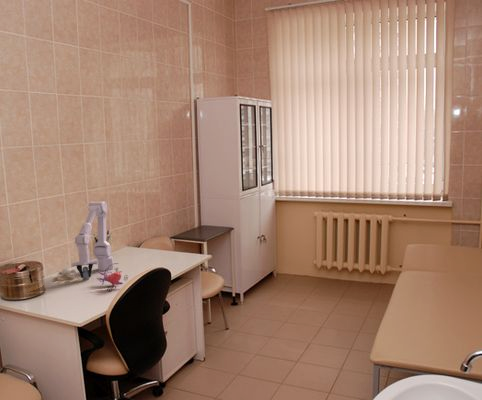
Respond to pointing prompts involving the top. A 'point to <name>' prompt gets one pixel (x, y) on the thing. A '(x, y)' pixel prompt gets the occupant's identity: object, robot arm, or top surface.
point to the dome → (66, 271)
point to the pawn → (85, 273)
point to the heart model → (111, 277)
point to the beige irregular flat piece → (67, 277)
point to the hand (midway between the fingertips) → (86, 277)
